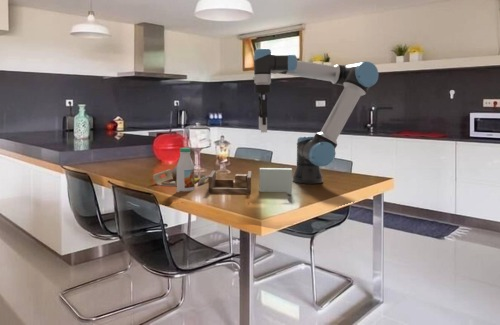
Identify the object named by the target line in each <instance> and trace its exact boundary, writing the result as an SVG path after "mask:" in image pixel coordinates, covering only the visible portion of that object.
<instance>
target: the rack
mask: <svg viewBox="0 0 500 325" xmlns="http://www.w3.org/2000/svg"><path fill="white" fill-rule="evenodd" d="M216 174H217V171H216V170H211V173H210V174H208V175H209V177H208V178H209V181H208V194H236V195H237V194H238V195H239V194H240V195H243V194H246V195H251V194H252V171H251V170H248V171H247V188H233V180H235V178H234V179H233V178H232V179H231V178H229V179H228V178H226V179H224V178H223V179H222V178H221V179H220V178H219V179H217V175H216ZM208 178H207V179H208Z"/></svg>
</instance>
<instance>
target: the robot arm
mask: <svg viewBox="0 0 500 325" xmlns="http://www.w3.org/2000/svg"><path fill="white" fill-rule="evenodd" d="M253 53H254V54H253V68H254V69H253V70H254V73H253V74H254V76H252V79H253V81H254V82H253V83H254V86H253V90H254V91H253V92H254V94H259V95H258V97H257V100H258V103H257V104H258V113H257V114H258V131H260V133H268V116H269V114H268V96H267V94H270V93H272V85H271V84H272V75H271V74H274V75H275V74H280V75H286V76H293V77H301V78H306V79H311V80H313V79H315V80H321V81H325V82H326V81H327V82H331V83H332V85H339V86H343V90H342V92H341V94H340V95H339V97H338V99H337V100H336V102H335V105H334V106H333V108H332V110H331V111H330V114H329V116H328V117H327V119H326V120H325V123H324V124H323V126H322V128H321V130H320V131H319V132H316V133H315V134H314V136H300V137H298V138H297V142H296V166H295V170H294V172H293V174H292V182H295V183H297V184H298V183H299V184H308V185H309V184H310V185H312V184H313V185H315V184H321V183H323V175H322V174H323V173H322V172H321V171H322V170H321V167H326V166H328V165H330V164H331V163H332V162H333V161H334V159H335V158H336V148H337V146H338V141H337V140H338V137H339V136H340V134H341V132H342V131H343V129H344V127H345V125H346V123H347V122H348V120H349V118H350V117H351V114H352V113H353V111H354V109H355V107H356V105H357V103H358V102H359V100H360V98H361V97H362V96H365V95H366V94H367V92H368V90H369V88H371V87H372V86H373V87H374V85H375V84H376V83H377V82H378V80H379V76H380V75H379V71H378V67H377V66H376V64H374V63H373V62H371V61H360V62H357V63H356V62H355V63H350V64H342V65H341V64H335V65H327V64H322V63H318V62H317V63H316V62H310V61H305V60H304V61H303V60H298V56H296V54H294V53H293V54H291V53H272V50H271V49H270V48H256V49H255V50H254V52H253Z"/></svg>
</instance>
